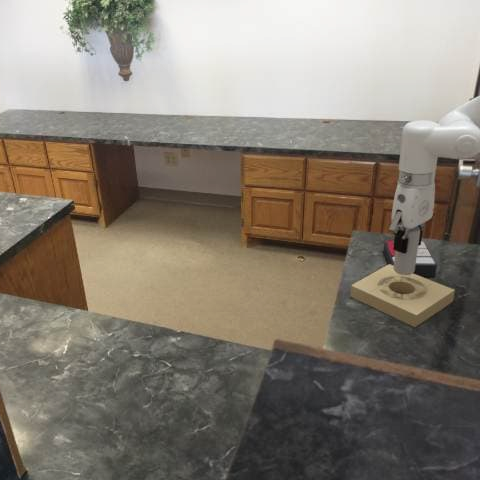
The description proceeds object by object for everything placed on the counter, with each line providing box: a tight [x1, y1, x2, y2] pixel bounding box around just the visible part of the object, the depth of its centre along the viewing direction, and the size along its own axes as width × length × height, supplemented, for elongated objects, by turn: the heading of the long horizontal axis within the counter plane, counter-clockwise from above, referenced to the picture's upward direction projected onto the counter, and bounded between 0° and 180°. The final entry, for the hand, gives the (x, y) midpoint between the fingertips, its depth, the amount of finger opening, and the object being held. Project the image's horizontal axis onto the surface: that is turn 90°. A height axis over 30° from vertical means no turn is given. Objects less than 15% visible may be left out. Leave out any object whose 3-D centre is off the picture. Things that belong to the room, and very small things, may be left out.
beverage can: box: [394, 226, 420, 275], centre depth 124 cm, size 5×5×12 cm
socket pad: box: [349, 264, 456, 328], centre depth 129 cm, size 18×16×4 cm
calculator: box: [383, 240, 438, 278], centre depth 144 cm, size 11×4×15 cm
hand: (407, 246), depth 123 cm, fingers closed on beverage can, 4 cm apart
